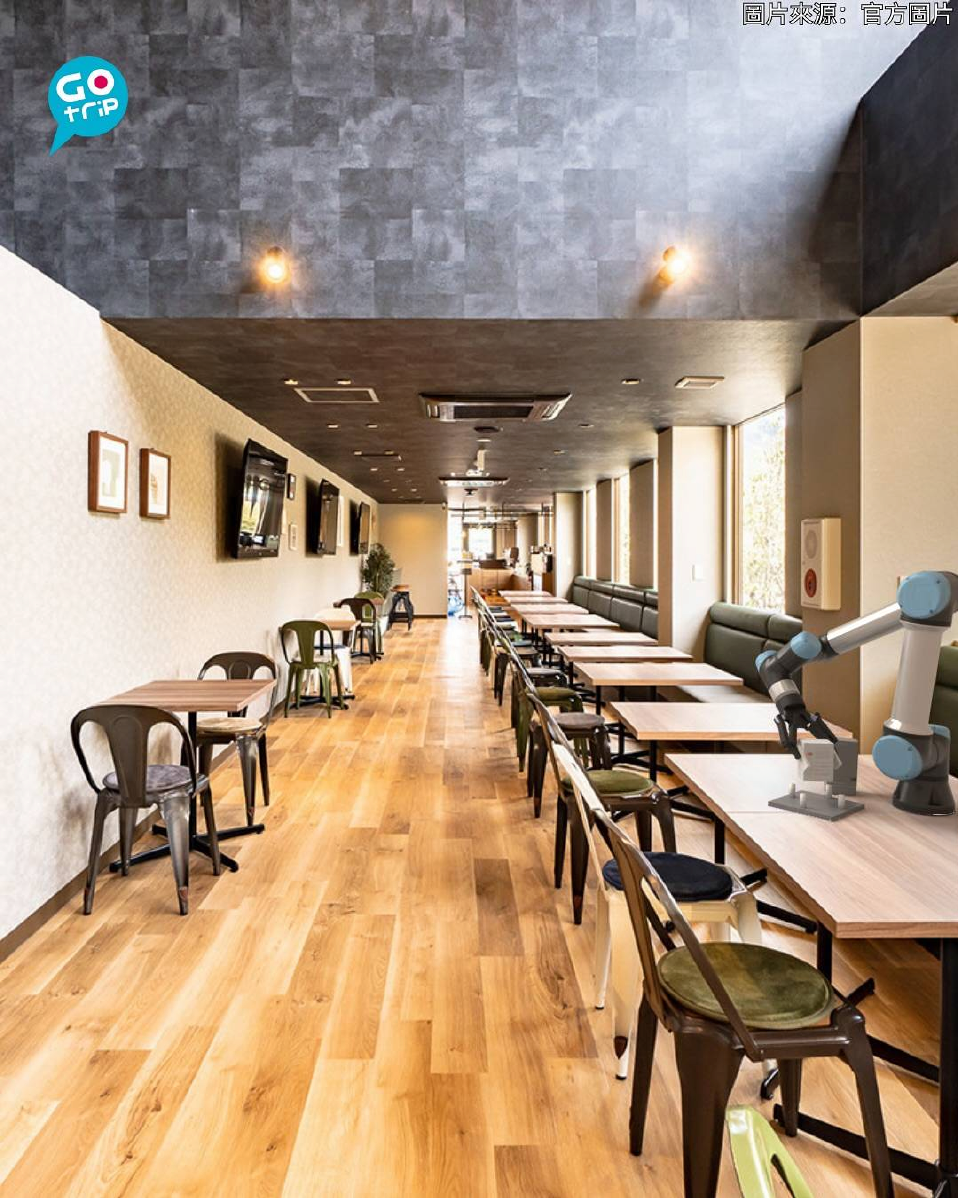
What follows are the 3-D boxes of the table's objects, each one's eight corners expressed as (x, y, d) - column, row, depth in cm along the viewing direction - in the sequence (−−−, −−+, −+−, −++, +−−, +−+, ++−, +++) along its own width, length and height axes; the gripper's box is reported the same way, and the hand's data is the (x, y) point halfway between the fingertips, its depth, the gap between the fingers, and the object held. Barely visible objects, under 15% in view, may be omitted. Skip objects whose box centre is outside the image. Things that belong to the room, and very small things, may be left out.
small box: (826, 776, 229) (827, 738, 228) (833, 782, 223) (834, 743, 222) (796, 775, 229) (797, 738, 229) (802, 781, 224) (803, 742, 223)
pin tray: (801, 794, 239) (802, 777, 238) (864, 808, 225) (864, 790, 225) (768, 805, 227) (768, 788, 227) (832, 821, 213) (832, 803, 213)
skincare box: (826, 794, 239) (827, 739, 238) (823, 787, 246) (824, 734, 245) (858, 796, 237) (859, 741, 236) (854, 790, 243) (856, 736, 243)
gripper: (814, 705, 243) (850, 772, 228) (748, 708, 237) (781, 777, 223) (826, 690, 238) (864, 758, 223) (759, 692, 232) (794, 762, 217)
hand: (822, 768), depth 223 cm, fingers closed on small box, 9 cm apart
